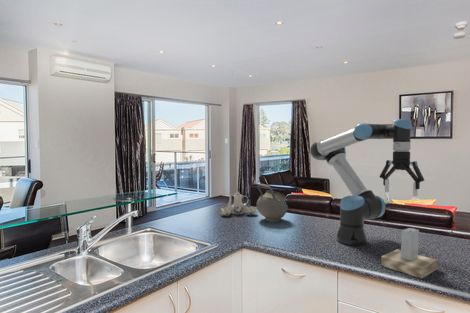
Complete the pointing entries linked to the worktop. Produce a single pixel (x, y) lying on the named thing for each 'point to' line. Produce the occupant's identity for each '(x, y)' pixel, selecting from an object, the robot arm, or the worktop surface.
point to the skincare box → (409, 244)
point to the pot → (271, 204)
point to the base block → (409, 264)
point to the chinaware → (237, 206)
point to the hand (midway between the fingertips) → (400, 194)
